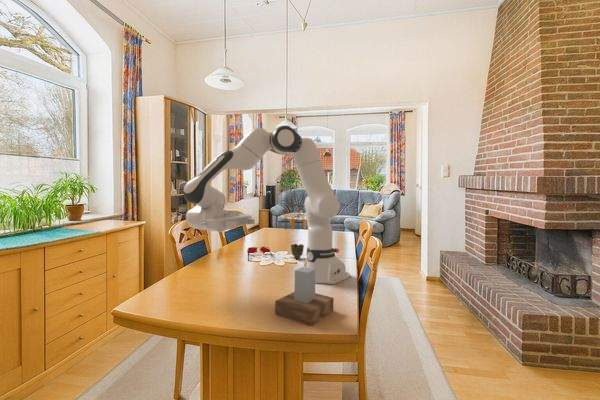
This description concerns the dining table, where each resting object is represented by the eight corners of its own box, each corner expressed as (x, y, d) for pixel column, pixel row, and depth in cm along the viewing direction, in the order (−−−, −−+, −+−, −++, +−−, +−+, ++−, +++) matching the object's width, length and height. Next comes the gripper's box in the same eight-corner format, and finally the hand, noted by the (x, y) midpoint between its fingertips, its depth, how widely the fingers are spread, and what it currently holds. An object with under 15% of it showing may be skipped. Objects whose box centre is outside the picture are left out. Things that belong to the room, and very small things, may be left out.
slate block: (294, 300, 102) (294, 270, 102) (302, 295, 107) (302, 266, 106) (307, 303, 100) (308, 272, 99) (315, 298, 104) (315, 269, 103)
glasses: (269, 254, 189) (270, 246, 188) (273, 261, 173) (273, 252, 172) (246, 255, 186) (246, 246, 186) (247, 262, 170) (248, 252, 169)
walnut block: (299, 302, 113) (299, 289, 113) (333, 312, 105) (333, 297, 105) (275, 315, 102) (275, 300, 101) (311, 327, 94) (311, 311, 94)
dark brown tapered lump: (305, 257, 179) (305, 244, 179) (301, 260, 172) (302, 246, 172) (292, 256, 181) (292, 243, 181) (288, 259, 174) (289, 245, 174)
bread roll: (301, 264, 165) (301, 257, 165) (317, 263, 168) (317, 256, 168) (306, 268, 158) (307, 260, 157) (323, 267, 161) (323, 259, 160)
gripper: (197, 214, 114) (225, 217, 107) (236, 210, 132) (262, 212, 125) (198, 231, 114) (225, 235, 107) (236, 225, 132) (262, 228, 125)
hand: (245, 223), depth 116 cm, fingers open, 8 cm apart
